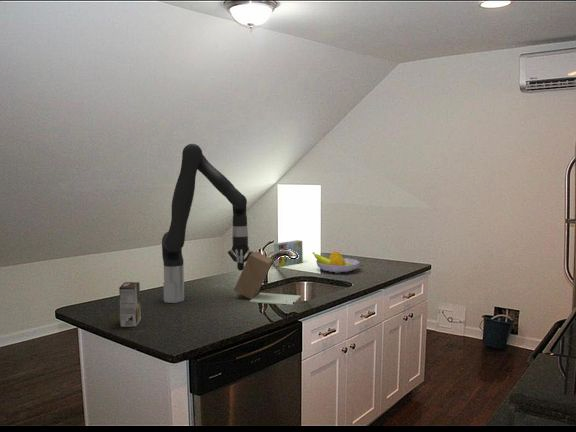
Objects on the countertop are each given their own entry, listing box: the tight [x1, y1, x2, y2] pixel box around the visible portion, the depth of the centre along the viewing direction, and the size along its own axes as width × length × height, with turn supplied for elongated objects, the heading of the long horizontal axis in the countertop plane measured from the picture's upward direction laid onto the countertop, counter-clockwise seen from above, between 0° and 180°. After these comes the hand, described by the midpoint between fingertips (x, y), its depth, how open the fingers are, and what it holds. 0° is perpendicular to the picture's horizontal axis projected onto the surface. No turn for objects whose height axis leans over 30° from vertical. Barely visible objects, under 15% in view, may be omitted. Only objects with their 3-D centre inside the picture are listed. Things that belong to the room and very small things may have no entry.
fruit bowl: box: [312, 251, 360, 274], centre depth 302 cm, size 28×27×11 cm
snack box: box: [273, 239, 304, 268], centre depth 322 cm, size 21×6×15 cm, turn 133°
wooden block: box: [233, 250, 274, 300], centre depth 238 cm, size 10×10×20 cm
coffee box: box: [118, 281, 142, 328], centre depth 199 cm, size 9×6×16 cm
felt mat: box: [248, 292, 302, 306], centre depth 236 cm, size 16×21×1 cm
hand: (240, 270), depth 240 cm, fingers closed
